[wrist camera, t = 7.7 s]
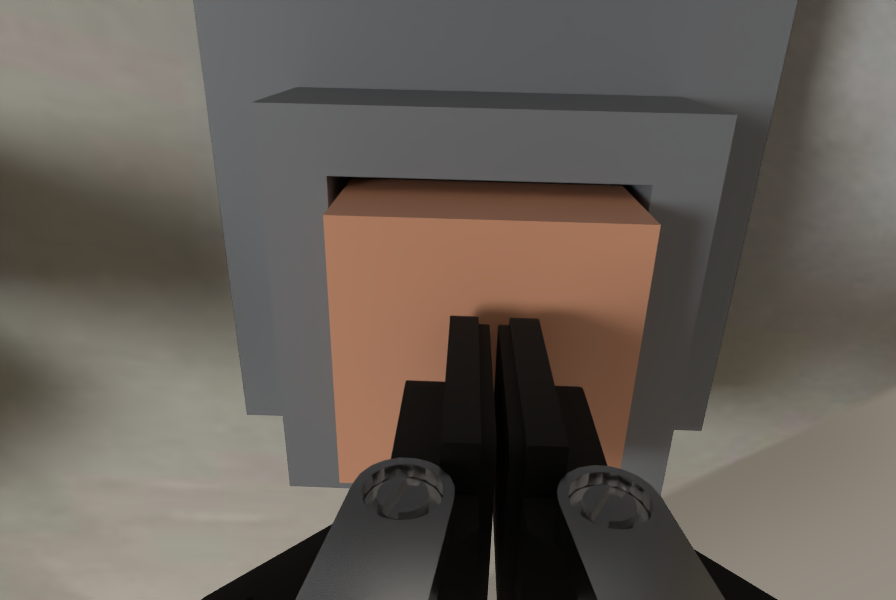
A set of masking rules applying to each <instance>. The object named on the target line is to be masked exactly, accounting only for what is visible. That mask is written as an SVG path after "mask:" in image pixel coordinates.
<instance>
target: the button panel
mask: <svg viewBox="0 0 896 600" xmlns="http://www.w3.org/2000/svg"><path fill="white" fill-rule="evenodd" d="M797 1H798V0H193V3H194V11H195V18H196V26H197V34H198V41H199V49H200V57H201V64H202V72H203V80H204V88H205V95H206V103H207V111H208V118H209V126H210V134H211V141H212V149H213V157H214V165H215V172H216V180H217V188H218V195H219V203H220V211H221V218H222V226H223V234H224V241H225V249H226V257H227V265H228V272H229V280H230V288H231V295H232V303H233V311H234V318H235V326H236V334H237V341H238V349H239V357H240V365H241V372H242V380H243V388H244V395H245V403H246V411H247V415H275V416H283V422H284V432H285V441H286V451H287V461H288V471H289V480H290V486H306V487H333V488H351V486H352V484H353V483H339V466H338V450H337V434H336V418H335V402H334V386H333V369H332V353H331V337H330V321H329V305H328V288H327V272H326V256H325V240H324V224H323V214H324V213H325V212H326V211H327V209H328V208H329V207H330V205H331V204H332V203H333V202H334V200H335V199H336V198H337V197H338V195H339V194H340V193H341V191H342V190H343V189H344V188H345V186H346V185H347V184H348V183H349V181H350V180H351V179H352V178H368V179H404V180H439V181H475V182H511V183H546V184H582V185H618V186H623V187H624V188H625V189H626V190H627V191H628V192H629V193H630V194H631V195H632V196H633V197H634V198H635V199H636V200H637V201H638V202H639V203H640V204H641V205H642V206H643V207H644V208H645V209H646V210H647V211H648V212H649V213H650V214H651V215H652V216H653V217H654V218H655V220H656V221H657V222H658V223H659V224H660V225H661V227H660V233H659V239H658V245H657V251H656V257H655V263H654V269H653V275H652V281H651V288H650V294H649V300H648V306H647V312H646V318H645V324H644V330H643V336H642V342H641V348H640V354H639V360H638V366H637V372H636V378H635V384H634V390H633V396H632V402H631V408H630V414H629V420H628V427H627V433H626V439H625V445H624V451H623V457H622V463H621V469H624V470H626V471H628V472H631V473H633V474H635V475H637V476H639V477H641V478H642V479H643V480H645V481H646V482H648V483H649V484H651V485H652V486H653V488H654V489H655V490H656V491H657V492H658V493H659V495H660V496H661V491H662V486H663V481H664V476H665V471H666V466H667V461H668V456H669V451H670V446H671V441H672V436H673V431H674V430H695V431H701V430H702V426H703V421H704V417H705V412H706V408H707V403H708V399H709V395H710V390H711V386H712V381H713V377H714V372H715V368H716V363H717V359H718V354H719V350H720V345H721V341H722V336H723V332H724V327H725V323H726V319H727V314H728V310H729V305H730V301H731V296H732V292H733V287H734V283H735V278H736V274H737V269H738V265H739V260H740V256H741V252H742V247H743V243H744V238H745V234H746V229H747V225H748V220H749V216H750V211H751V207H752V202H753V198H754V193H755V189H756V185H757V180H758V176H759V171H760V167H761V162H762V158H763V153H764V149H765V144H766V140H767V135H768V131H769V126H770V122H771V118H772V113H773V109H774V104H775V100H776V95H777V91H778V86H779V82H780V77H781V73H782V68H783V64H784V59H785V55H786V51H787V46H788V42H789V37H790V33H791V28H792V24H793V19H794V15H795V10H796V6H797Z"/></svg>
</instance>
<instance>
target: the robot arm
mask: <svg viewBox="0 0 896 600" xmlns="http://www.w3.org/2000/svg"><path fill="white" fill-rule="evenodd" d="M492 518H493V524H494V546H495V569H496V591H497V600H777V599H775V598H774V597H772V596H770V595H769V594H767V593H765V592H764V591H762V590H760V589H759V588H757V587H756V586H754V585H752V584H751V583H749V582H747V581H746V580H744V579H742V578H741V577H739V576H737V575H736V574H734V573H732V572H731V571H729V570H727V569H726V568H724V567H722V566H721V565H719V564H718V563H716V562H714V561H713V560H711V559H709V558H708V557H706V556H704V555H703V554H701V553H699V552H698V551H696V550H694V549H693V547H692V546H691V544H690V542H689V541H688V539H687V538H686V536H685V534H684V533H683V531H682V530H681V528H680V527H679V525H678V523H677V522H676V520H675V519H674V517H673V515H672V514H671V512H670V510H669V509H668V507H667V505H666V504H665V502H664V501H663V499H662V497H661V496H660V495H659V493H658V492H657V491H656V490H655V489H654V488H653V486H652V485H651V484H649V483H648V482H646V481H645V480H643V479H642V478H641V477H639V476H637V475H635V474H633V473H631V472H628V471H626V470H624V469H619V468H615V467H611V466H607V463H606V459H605V456H604V453H603V450H602V447H601V443H600V440H599V437H598V434H597V431H596V428H595V424H594V421H593V418H592V415H591V412H590V408H589V405H588V402H587V399H586V396H585V393H584V390H583V388H582V387H578V386H555V384H554V380H553V376H552V372H551V367H550V363H549V359H548V355H547V350H546V346H545V342H544V338H543V333H542V329H541V325H540V321H539V319H537V318H510V319H509V325H498V333H497V350H496V367H495V384H494V388H493V372H492V356H491V340H490V325H489V324H479V318H478V316H450V324H449V337H448V350H447V363H446V377H445V382H442V381H415V380H406V382H405V387H404V392H403V397H402V403H401V408H400V413H399V418H398V424H397V429H396V434H395V439H394V445H393V450H392V455H391V459H388V460H384V461H381V462H379V463H376V464H373V465H371V466H370V467H368V468H367V469H365V470H364V471H363V472H361V473H360V474H359V475H358V477H357V478H356V479H355V481H354V482H353V484H352V486H351V488H350V490H349V492H348V494H347V496H346V498H345V500H344V502H343V504H342V506H341V508H340V510H339V512H338V514H337V516H336V518H335V520H334V522H333V524H332V525H330V526H328V527H326V528H325V529H323V530H321V531H319V532H318V533H316V534H314V535H312V536H311V537H309V538H307V539H305V540H304V541H302V542H300V543H298V544H297V545H295V546H293V547H291V548H290V549H288V550H286V551H284V552H283V553H281V554H279V555H277V556H276V557H274V558H272V559H270V560H269V561H267V562H265V563H263V564H262V565H260V566H258V567H256V568H255V569H253V570H251V571H249V572H248V573H246V574H244V575H242V576H241V577H239V578H237V579H235V580H234V581H232V582H230V583H228V584H227V585H225V586H223V587H221V588H220V589H218V590H216V591H214V592H213V593H211V594H209V595H207V596H206V597H204V598H203V599H202V600H487V595H488V579H489V564H490V549H491V533H492Z"/></svg>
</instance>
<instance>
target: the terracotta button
mask: <svg viewBox="0 0 896 600" xmlns="http://www.w3.org/2000/svg"><path fill="white" fill-rule="evenodd" d="M323 224H324V240H325V256H326V272H327V288H328V305H329V321H330V337H331V353H332V369H333V386H334V402H335V418H336V434H337V450H338V466H339V483H353V482H354V481H355V479H356V478H357V477H358V475H359V474H360V473H361V472H363V471H364V470H365V469H367V468H368V467H370V466H371V465H373V464H376V463H379V462H381V461H384V460H388V459H391V455H392V450H393V445H394V439H395V434H396V429H397V424H398V418H399V413H400V408H401V403H402V397H403V392H404V387H405V382H406V380H415V381H442V382H445V377H446V363H447V350H448V337H449V324H450V316H478V318H479V324H489V325H490V340H491V356H492V372H493V388H494V384H495V367H496V350H497V333H498V325H509V319H510V318H537V319H539V321H540V325H541V329H542V333H543V338H544V342H545V346H546V350H547V355H548V359H549V363H550V367H551V372H552V376H553V380H554V384H555V386H578V387H582V388H583V390H584V393H585V396H586V399H587V402H588V405H589V408H590V412H591V415H592V418H593V421H594V424H595V428H596V431H597V434H598V437H599V440H600V443H601V447H602V450H603V453H604V456H605V459H606V463H607V466H611V467H615V468H619V469H621V463H622V457H623V451H624V445H625V439H626V433H627V427H628V420H629V414H630V408H631V402H632V396H633V390H634V384H635V378H636V372H637V366H638V360H639V354H640V348H641V342H642V336H643V330H644V324H645V318H646V312H647V306H648V300H649V294H650V288H651V281H652V275H653V269H654V263H655V257H656V251H657V245H658V239H659V233H660V227H661V225H660V224H659V223H658V222H657V221H656V220H655V218H654V217H653V216H652V215H651V214H650V213H649V212H648V211H647V210H646V209H645V208H644V207H643V206H642V205H641V204H640V203H639V202H638V201H637V200H636V199H635V198H634V197H633V196H632V195H631V194H630V193H629V192H628V191H627V190H626V189H625V188H624V187H623V186H618V185H582V184H546V183H511V182H475V181H439V180H404V179H368V178H352V179H351V180H350V181H349V183H348V184H347V185H346V186H345V188H344V189H343V190H342V191H341V193H340V194H339V195H338V197H337V198H336V199H335V200H334V202H333V203H332V204H331V205H330V207H329V208H328V209H327V211H326V212H325V213H324V214H323Z"/></svg>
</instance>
